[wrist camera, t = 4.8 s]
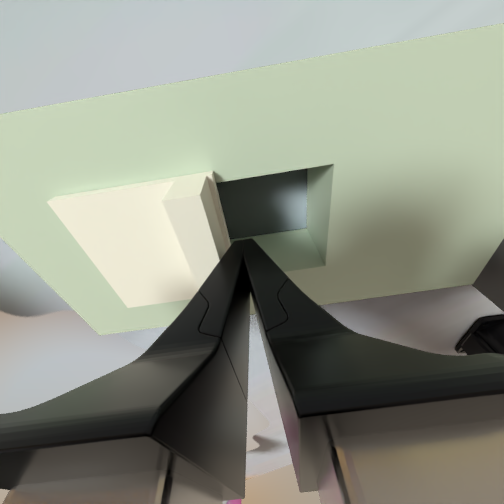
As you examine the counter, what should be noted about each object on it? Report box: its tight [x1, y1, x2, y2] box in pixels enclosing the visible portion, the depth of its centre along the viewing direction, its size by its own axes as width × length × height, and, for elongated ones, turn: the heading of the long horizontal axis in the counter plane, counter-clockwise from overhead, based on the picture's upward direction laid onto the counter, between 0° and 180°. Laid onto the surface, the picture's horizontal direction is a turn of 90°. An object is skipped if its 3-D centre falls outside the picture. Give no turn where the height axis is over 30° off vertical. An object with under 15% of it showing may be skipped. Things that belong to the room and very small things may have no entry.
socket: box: [0, 23, 504, 335], centre depth 12 cm, size 24×12×4 cm, turn 98°
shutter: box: [47, 171, 231, 308], centre depth 10 cm, size 6×6×2 cm
